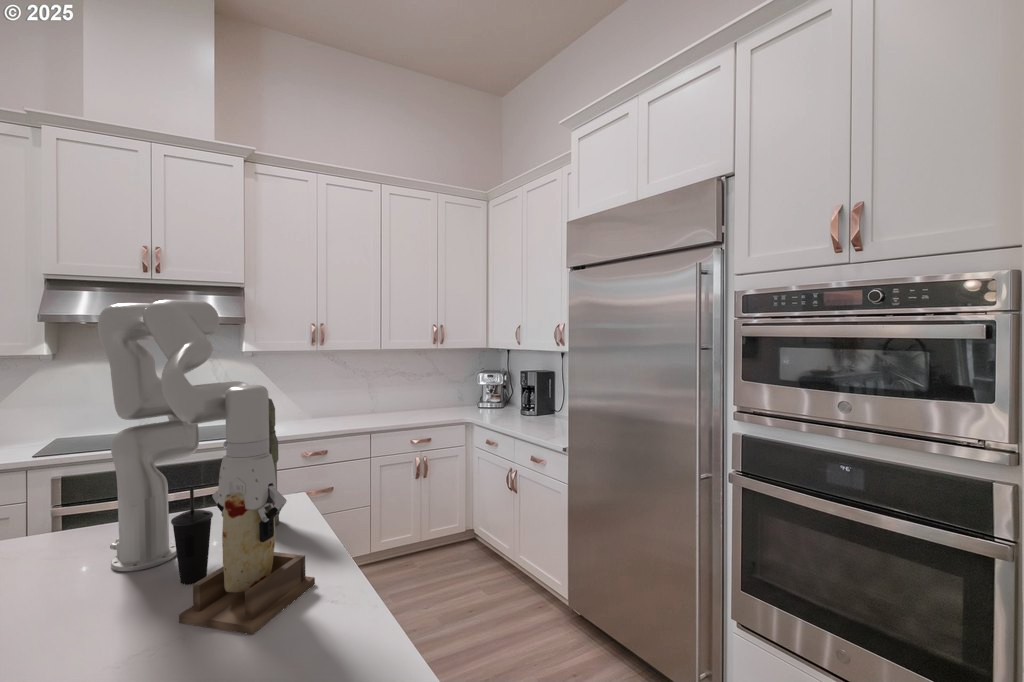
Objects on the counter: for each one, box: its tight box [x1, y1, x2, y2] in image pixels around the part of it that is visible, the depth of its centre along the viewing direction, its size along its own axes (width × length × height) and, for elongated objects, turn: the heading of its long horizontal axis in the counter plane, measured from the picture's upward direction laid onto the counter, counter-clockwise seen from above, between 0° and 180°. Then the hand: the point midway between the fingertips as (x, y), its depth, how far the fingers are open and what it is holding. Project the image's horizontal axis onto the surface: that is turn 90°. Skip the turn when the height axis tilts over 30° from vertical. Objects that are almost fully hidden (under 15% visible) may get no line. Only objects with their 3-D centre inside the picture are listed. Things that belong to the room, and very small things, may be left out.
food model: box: [221, 493, 276, 593], centre depth 100 cm, size 10×7×20 cm
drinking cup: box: [170, 486, 214, 586], centre depth 110 cm, size 8×8×20 cm
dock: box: [178, 551, 316, 636], centre depth 101 cm, size 16×18×6 cm
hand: (249, 536), depth 100 cm, fingers closed on food model, 7 cm apart
